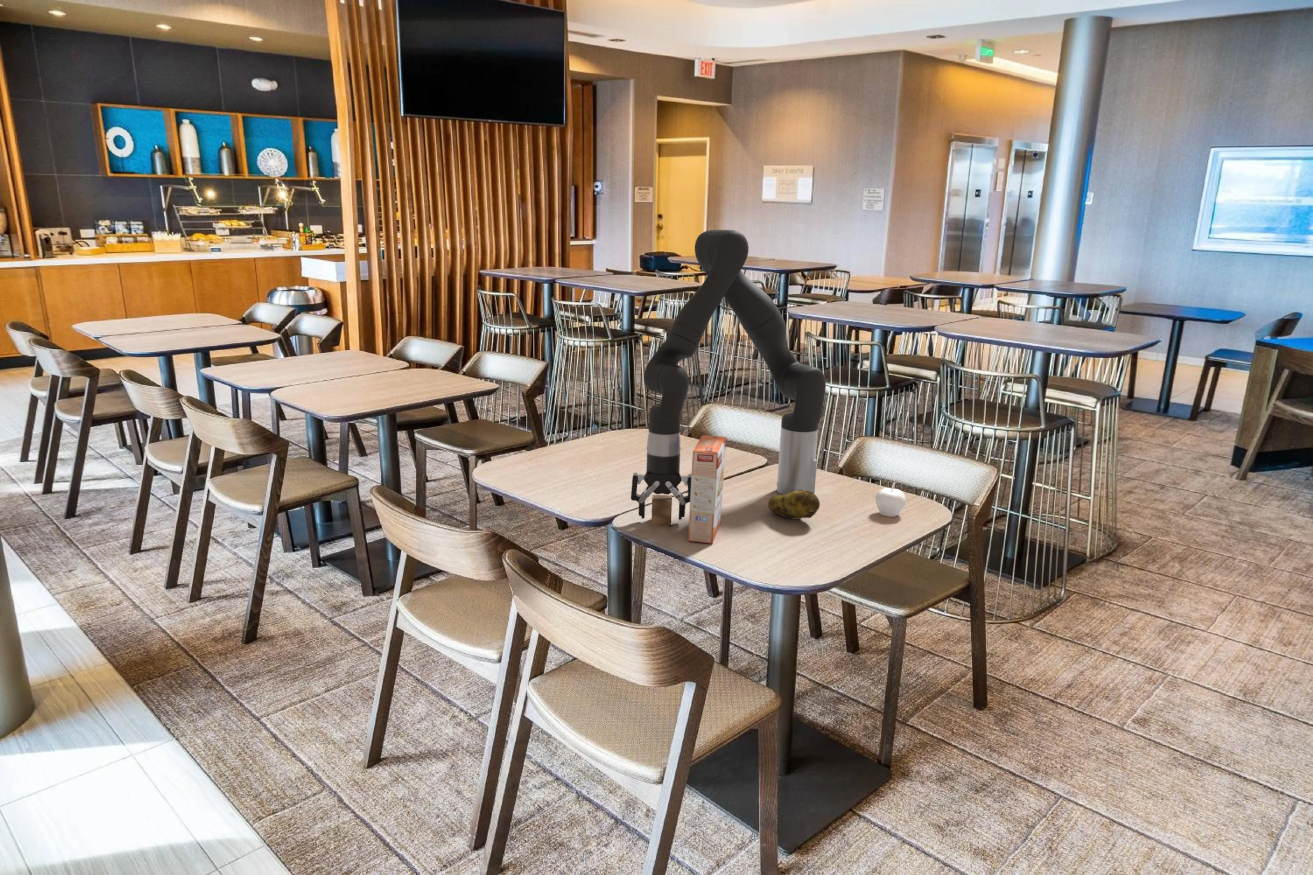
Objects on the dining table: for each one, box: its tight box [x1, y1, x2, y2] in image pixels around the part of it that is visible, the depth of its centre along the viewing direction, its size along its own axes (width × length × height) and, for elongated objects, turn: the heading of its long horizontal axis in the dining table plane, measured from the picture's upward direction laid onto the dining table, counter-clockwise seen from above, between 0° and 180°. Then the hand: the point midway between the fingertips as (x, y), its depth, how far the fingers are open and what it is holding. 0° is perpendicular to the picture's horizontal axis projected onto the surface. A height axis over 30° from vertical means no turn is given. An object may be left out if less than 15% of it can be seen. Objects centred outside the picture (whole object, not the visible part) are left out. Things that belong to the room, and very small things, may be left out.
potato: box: [767, 490, 821, 520], centre depth 203 cm, size 8×13×8 cm, turn 25°
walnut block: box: [650, 494, 673, 528], centre depth 199 cm, size 4×4×6 cm
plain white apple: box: [875, 481, 907, 518], centre depth 209 cm, size 7×7×8 cm
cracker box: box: [687, 434, 727, 545], centre depth 192 cm, size 14×6×21 cm, turn 168°
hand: (661, 518), depth 200 cm, fingers open, 8 cm apart
